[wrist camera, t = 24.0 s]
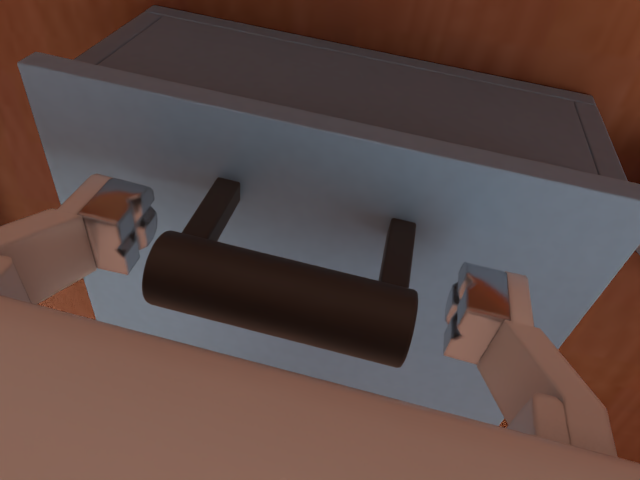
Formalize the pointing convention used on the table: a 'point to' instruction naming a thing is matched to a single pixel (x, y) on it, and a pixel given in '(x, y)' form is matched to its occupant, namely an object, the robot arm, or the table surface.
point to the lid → (322, 230)
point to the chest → (364, 87)
